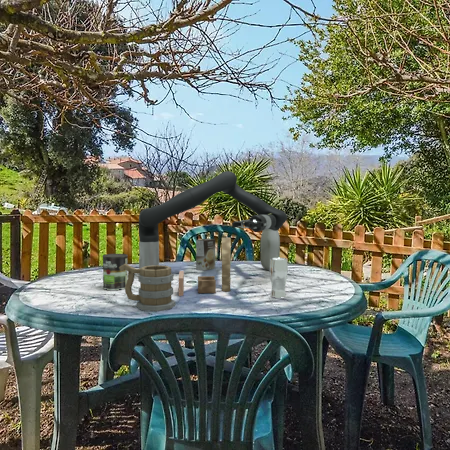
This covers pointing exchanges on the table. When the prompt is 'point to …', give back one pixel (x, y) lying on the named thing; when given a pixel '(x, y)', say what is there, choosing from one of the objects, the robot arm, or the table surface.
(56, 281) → the table surface
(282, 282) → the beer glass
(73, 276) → the table surface
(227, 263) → the dowel
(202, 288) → the cradle
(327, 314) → the table surface
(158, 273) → the tankard
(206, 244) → the coffee box
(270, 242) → the grey water bottle
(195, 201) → the robot arm
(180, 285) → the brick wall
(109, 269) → the coffee can
